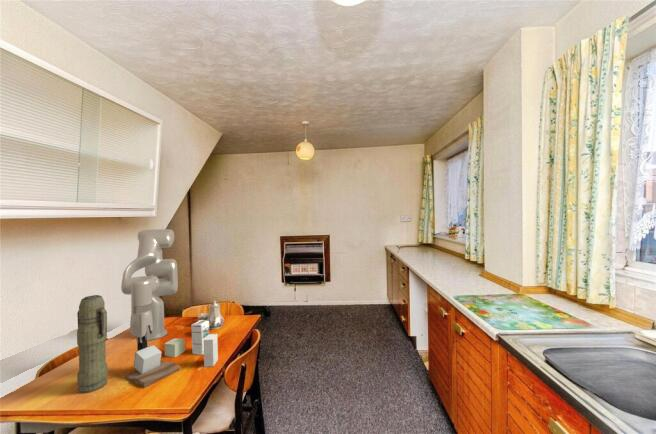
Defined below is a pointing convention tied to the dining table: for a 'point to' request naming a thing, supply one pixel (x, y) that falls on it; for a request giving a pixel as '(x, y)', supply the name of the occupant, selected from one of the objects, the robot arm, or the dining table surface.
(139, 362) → the light grey block
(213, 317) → the chinaware
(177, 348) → the sage block
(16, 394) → the dining table surface
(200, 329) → the syrup box
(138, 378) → the walnut steps
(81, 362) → the thermos
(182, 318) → the dining table surface
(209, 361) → the skincare box
